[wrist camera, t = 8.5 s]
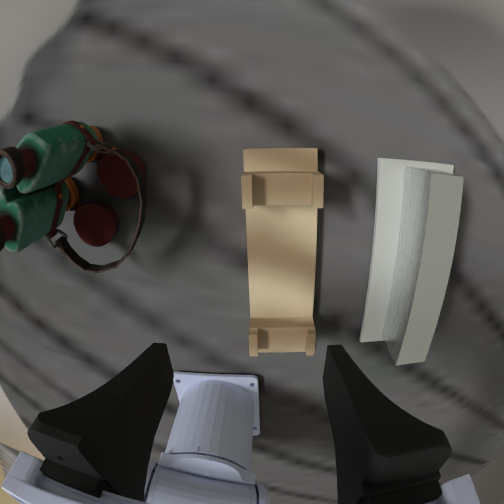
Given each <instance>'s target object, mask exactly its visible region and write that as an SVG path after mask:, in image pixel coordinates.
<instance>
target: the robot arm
mask: <svg viewBox="0 0 504 504" xmlns="http://www.w3.org/2000/svg"><path fill="white" fill-rule="evenodd" d="M173 380H174V384H175V388H176V391H177V395H178V398H179V402H180V405H179V408H178V411H177V414H176V418H175V421H174V424H173V427H172V431H171V434H170V437H169V441H168V444H167V447H166V451H165V453H161V456H160V459H159V462H158V464H157V462H154V461H149V460H150V454H151V450H152V445H153V441H154V437H155V434H156V431H157V428H158V425H159V423H160V420H161V417H162V415H163V412H164V409H165V407H166V404H167V401H168V398H169V396H170V392H171V388H172V384H173ZM179 380H180V381H179ZM251 383H254V384H251ZM323 385H324V395H325V401H326V405H327V410H328V414H329V419H330V423H331V428H332V432H333V437H334V443H335V454H336V468H337V491H338V504H480V502H479V499H478V496H477V493H476V490H475V488H474V485H473V482H472V480H471V477H470V474H466V475H463V476H460V477H458V478H455V479H452V480H449V481H447V482H445V483H443V484H441V485H440V484H439V481H438V480H439V479H440V477H441V476H440V473H439V469H440V468H441V467H442V466H443V464H444V463H445V462H446V461H447V459H448V458H449V456H450V455H451V451H452V449H451V446H450V444H449V441H448V439H447V437H446V435H445V434H444V432H443V431H442V430H440V429H438V428H435V427H433V426H431V425H428V424H426V423H424V422H422V421H421V420H419V419H417V418H415V417H413V416H412V415H410V414H409V413H407V412H406V411H404V410H403V409H401V408H400V407H398V406H397V405H396V404H394V403H393V402H392V401H391V400H389V399H388V398H387V397H386V396H385V395H384V394H383V393H381V392H380V391H379V390H378V389H377V388H376V387H375V386H374V385H373V384H372V382H371V381H370V380H369V379H368V378H367V377H366V376H365V375H364V373H363V372H362V371H361V370H360V369H359V367H358V366H357V365H356V364H355V362H354V361H353V360H352V358H351V357H350V356H349V354H348V353H347V352H346V350H345V349H344V347H343V346H342V345H328V346H327V353H326V360H325V367H324V374H323ZM259 434H260V417H259V388H258V377H257V376H255V375H231V374H206V373H190V372H174V373H173V369H172V365H171V361H170V358H169V354H168V350H167V345H166V344H164V343H153V344H152V345H151V346H150V347H148V348H147V349H146V350H145V351H144V352H143V353H142V354H141V355H140V356H139V357H138V358H136V359H135V360H134V361H133V362H132V363H131V364H130V365H129V366H127V367H126V368H125V369H124V370H123V371H121V372H120V373H119V374H118V375H116V376H115V377H114V378H112V379H111V380H110V381H108V382H107V383H106V384H104V385H103V386H101V387H100V388H98V389H96V390H95V391H93V392H91V393H89V394H87V395H86V396H84V397H82V398H80V399H78V400H76V401H73V402H71V403H69V404H66V405H64V406H61V407H58V408H55V409H52V410H48V411H45V412H41V413H39V414H38V416H37V417H36V419H35V420H34V422H33V424H32V425H31V427H30V428H29V430H28V436H29V439H30V440H31V441H32V443H33V444H34V445H35V446H36V448H37V449H38V450H39V451H40V452H41V453H42V455H43V456H44V457H45V460H44V462H42V461H40V460H39V459H37V458H35V457H33V456H31V455H29V454H27V453H25V452H23V451H21V452H20V453H19V455H18V457H17V459H16V460H15V462H14V464H13V466H12V467H11V469H10V471H9V473H8V474H7V476H6V478H5V480H4V482H3V484H2V486H1V487H2V489H3V490H5V491H6V492H7V493H8V494H9V495H11V496H12V497H13V498H14V499H15V500H17V501H18V502H19V503H21V504H271V498H270V494H269V492H268V491H267V490H266V488H265V487H264V485H262V484H257V483H255V477H256V473H255V472H251V471H250V466H251V452H252V438H253V436H256V435H259Z"/></svg>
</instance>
